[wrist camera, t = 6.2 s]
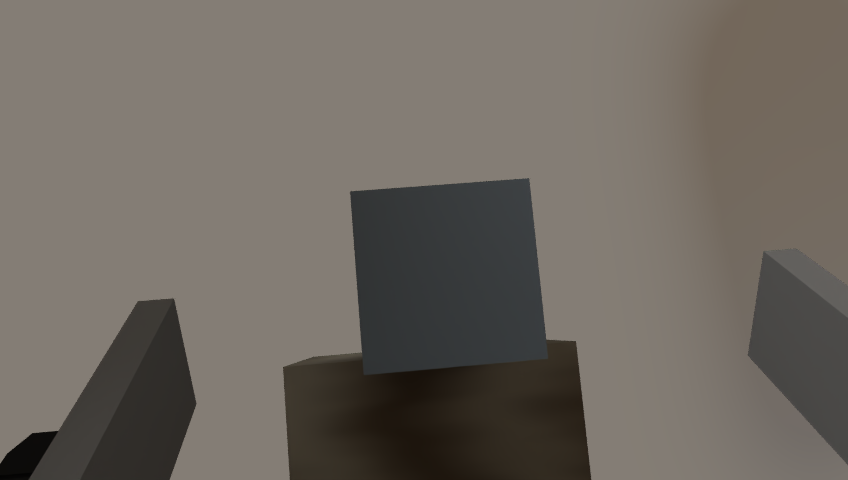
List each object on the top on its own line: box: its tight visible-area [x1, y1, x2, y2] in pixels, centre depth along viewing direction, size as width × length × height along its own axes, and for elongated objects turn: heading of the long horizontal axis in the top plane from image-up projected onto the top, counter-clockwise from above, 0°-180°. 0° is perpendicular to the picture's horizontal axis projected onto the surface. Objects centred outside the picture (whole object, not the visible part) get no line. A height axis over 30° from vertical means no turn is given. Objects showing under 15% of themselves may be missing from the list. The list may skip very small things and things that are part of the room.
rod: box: [350, 178, 548, 375], centre depth 28 cm, size 4×24×4 cm, turn 3°
